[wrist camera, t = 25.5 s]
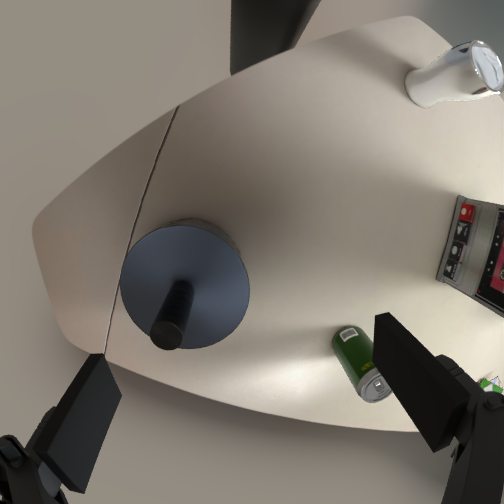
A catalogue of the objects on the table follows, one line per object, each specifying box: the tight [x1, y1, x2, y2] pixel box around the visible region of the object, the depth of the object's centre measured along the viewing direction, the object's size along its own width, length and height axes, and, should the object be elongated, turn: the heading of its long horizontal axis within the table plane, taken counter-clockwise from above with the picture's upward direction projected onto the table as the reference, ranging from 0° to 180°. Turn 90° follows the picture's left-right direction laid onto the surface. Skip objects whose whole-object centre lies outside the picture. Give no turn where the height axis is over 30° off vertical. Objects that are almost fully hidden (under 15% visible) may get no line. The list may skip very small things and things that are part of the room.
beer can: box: [333, 326, 393, 403], centre depth 36 cm, size 5×5×12 cm
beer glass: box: [405, 40, 504, 108], centre depth 26 cm, size 7×7×15 cm
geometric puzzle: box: [480, 376, 503, 393], centre depth 47 cm, size 7×7×8 cm
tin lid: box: [120, 224, 250, 350], centre depth 26 cm, size 14×14×10 cm
